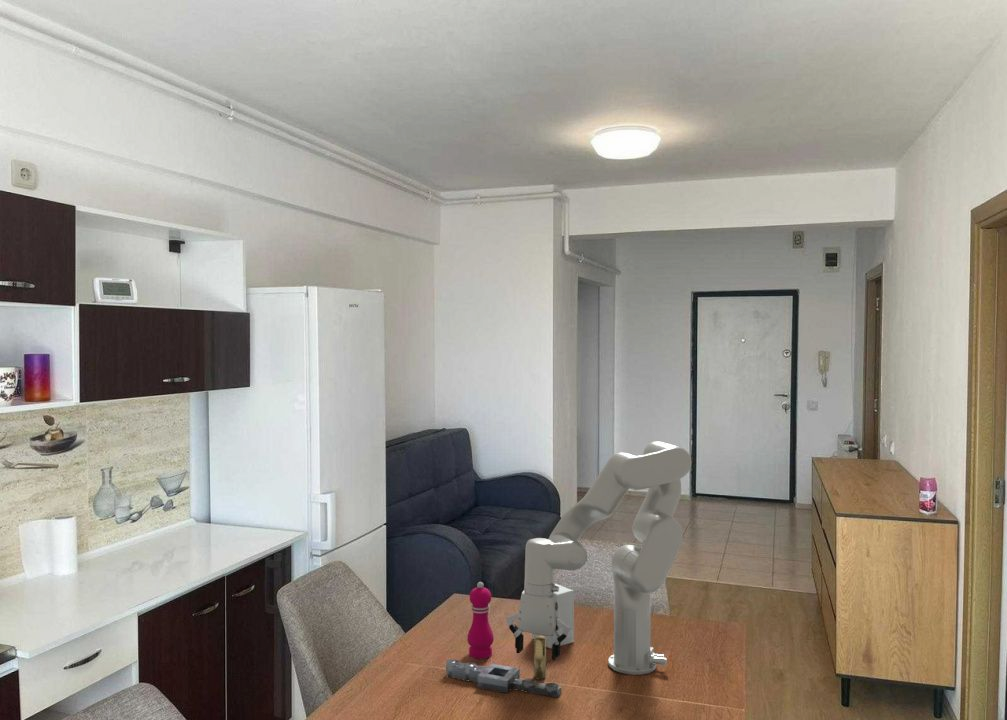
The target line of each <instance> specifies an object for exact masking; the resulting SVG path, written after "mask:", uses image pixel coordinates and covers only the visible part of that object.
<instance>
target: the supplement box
mask: <svg viewBox="0 0 1007 720" xmlns="http://www.w3.org/2000/svg"><path fill="white" fill-rule="evenodd" d="M555 586H558V587H559V592H554V593H556V594H557V597H558V604H559V618H560V620H562V621H563V622H564V623H566V624H567V625H569V626H570V627H571V630H570V632H569V634H568V635H567V637H566V638H565V639H564V640H563V641H562V642H560V647H561V646H564V645H568V644H572V643H574V641H575V609H574V608H575V591H574V590H573V589H570V588H568V587H565V586H563V585H560V584H558V583H555ZM558 633H559V634H560V636H561V635H562V634H563V629H562V628H560V627H559V630H558ZM536 636H544V637H546V648H548V649H551V650H552V645H553V644H554V642H553V640H552V639H551V637H550V636H545V635H539V634H533V633H531V639H534V637H536Z"/></svg>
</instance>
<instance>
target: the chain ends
mask: <svg viewBox="0 0 1007 720" xmlns="http://www.w3.org/2000/svg"><path fill="white" fill-rule="evenodd" d="M445 673H446V674H445V677H446V676H448V677H454V678H459V679H458V680H460V679H464V680H463V681H465V680H469V681H468V682H470V681H473V682H472V683H476V682H478V683H477V689H482V688H484V689H483V690H487V689H488V690H489V691H492V690H494V691H493V692H497V691H499V693H503V692H505V693H504V694H508V693H510V691H511V690H513V689H517V690H516V691H518V690H523V691H527V692H526V693H529V692H532V693H531V694H534V693H536V694H535V695H539V694H542V695H541V696H545V695H547V696H546V697H549V696H550V697H551V698H555V699H557V698H559V697H560V695H561V694H562V686H561V685H558V684H557V683H555V682H547V683H545V682H544V683H543V682H539V681H536V680H535V679H532V678H524V679H523V678H522V679H521V677H520V673H521V671H520V668H518V667H512V666H507V665H502V664H496V663H489V665H488V666H482V665H477V664H476V663H475V662H460V661H459V660H458V659H455V658H453V659H452V658H451V659H447V660H446V662H445ZM448 677H447V678H448ZM454 678H453V679H454ZM510 689H511V690H510ZM488 690H487V691H488ZM509 690H510V691H509ZM523 691H522V692H523Z"/></svg>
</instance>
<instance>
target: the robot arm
mask: <svg viewBox="0 0 1007 720" xmlns="http://www.w3.org/2000/svg"><path fill="white" fill-rule="evenodd" d="M642 454H643V455H634V454H631V453H628V452H616V453H614V454H613V455H611V456H610V458H609V459H608V460H607V462H606V463H605V464H604V466H603V468H602V469H601V471H600V472H599V474H597V475H598V476H597V477H596V479H595V480H594V481H593V483H592V484H591V486H590V488H588V491H586V493H585V495H584V497H583V498H582V499H580V500H579V501H578V502H576V503H575V504H574V505H572V507H571V508H569V510H567V511H566V512H565V513H564V515H563V516H562V517H561V518H560V520H559V521H558V523H556V526H554V529H553V530H552V531H551V533H550V535H549V537H548V538H543V537H535V538H530V539H528V540H527V542H526V544H525V554H524V555H525V558H524V559H525V561H524V589H523V591H522V592H521V597H520V600H519V605H518V612H516V613H514V614H511V615H508V616H507V617H506V618H505V621H506V623H507V626H509V627H508V628H509V630H510V631H511V633H512V634H513V637H514V638H515V639H514V649H516V650H515V651H516V652H515V653H516V654H520V653H521V652H523V651H524V632H525V633H528V634H532V633H533V634H539V635H545V636H550V637H551V639H552V640H553V642H554V644H553V645H552V648H551V660H552V661H556V660H557V659H558V657H560V655H561V646H560V642H562V641H563V640H564V639H565V638H566V637H567V635H568V634H569V632H570V630H571V627H570V626H569V625H567V624H566V623H564V622H563V621H562V620H560V618H559V604H558V597H557V594H556V593H554V592H559V587H558V586H555V584H556V582H555V570H562V571H563V570H564V571H576V570H580V569H582V568H583V567H584V566H585V565H586V563H587V561H588V552H587V551H588V550H587V549H586V548H585V546H584V545H583V544H582V543H581V542H579V539H580V538H581V536H582V534H583V533H584V532H585V531H586V530H587V529H588V528H590V526H591V525H593V524H595V523H597V522H600V521H602V520H606V519H608V518H610V517H612V516H613V515H614V513H615V511H616V510H617V508H618V507H619V505H620V503H621V502H622V500H623V499H624V497H625V496H626V494H627V492H628V491H629V490H634V491H638V490H645V489H648V490H647V491H646V494H645V498H644V500H643V501H642V503H641V506H640V507H639V510H638V512H637V514H636V517H635V518H634V520H633V523H632V526H631V527H632V528H631V530H632V534H633V536H634V538H635V539H637V541H639V542H640V543H642V544H643V545H642V547H640V546H637V545H634V544H624V545H621V546H620V547H618V548H617V549H616V550H615V551H614V553H613V554H612V558H611V563H610V565H611V567H610V569H611V575H612V581H613V654H611V655H610V656H609V657H608V658H607V663H608V666H609V668H610V669H612V670H613V671H616V672H618V673H621V674H625V675H632V676H633V675H634V676H636V675H647V674H650V673H652V672H654V671H655V670H656V669H657V665H659V666H664V667H666V666H667V665H668V664H667V663H668V659H667V657H665V655H664V654H661V653H660V654H658V653H656V652H654V647H653V646H651V622H652V621H651V618H652V617H651V607H652V606H651V605H652V604H651V603H652V601H651V600H652V599H651V593H655V592H657V590H659V589H660V588H661V587H662V586H663V584H665V581H666V579H667V577H668V575H669V574H670V572H671V570H672V567H673V565H674V563H675V560H676V558H677V556H678V554H679V551H680V549H681V547H682V544H683V538H684V532H683V528H682V525H681V524H680V522H679V521H678V520H677V519H675V518H674V515H675V513H676V509H677V507H678V504H679V502H680V500H681V499H680V498H681V496H682V481H681V480H682V479H683V478H684V477H686V475H688V473H690V470H691V468H692V464H693V463H692V458H691V457H692V456H691V455H690V453H689V451H687V449H685V448H683V447H681V446H678V445H675V444H672V443H667V442H663V441H652V442H650V443H648V444H647V445H646V446H645V448H644V450H643V453H642ZM515 620H517V624H516V623H515ZM559 627H560V628H562V629H563V634H562V635H561V636H560V634H559V633H558V630H559Z"/></svg>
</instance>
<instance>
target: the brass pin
mask: <svg viewBox="0 0 1007 720" xmlns="http://www.w3.org/2000/svg"><path fill="white" fill-rule="evenodd" d="M533 677H535V678H534V679H536V678H539V679H538V680H544V679H543V678H545V677H546V678H547V647H546V637H544V636H536V637H534V640H533ZM546 678H545V679H546Z"/></svg>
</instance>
